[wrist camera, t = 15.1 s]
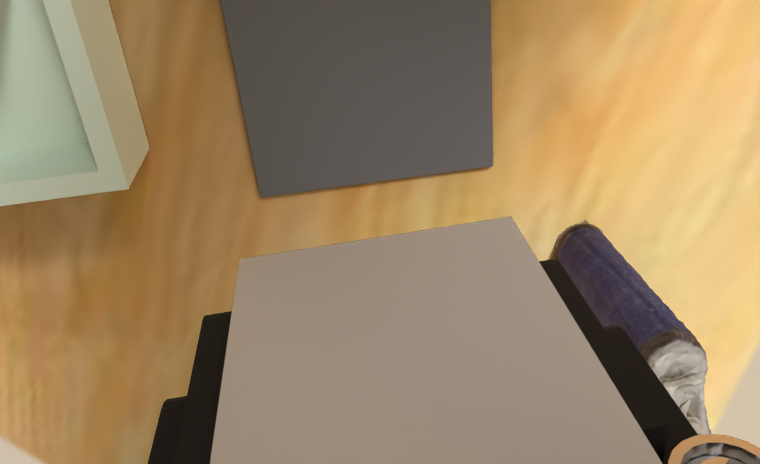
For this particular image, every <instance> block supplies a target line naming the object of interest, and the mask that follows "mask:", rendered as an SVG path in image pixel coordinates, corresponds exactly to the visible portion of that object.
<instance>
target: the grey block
mask: <svg viewBox="0 0 760 464" xmlns="http://www.w3.org/2000/svg"><path fill="white" fill-rule="evenodd" d="M210 464H662V462H661V460H660V459H659V457H658V455H657V454H656V452H655V451H654V449H653V447H652V446H651V444H650V442H649V441H648V439H647V437H646V436H645V434H644V433H643V431H642V429H641V428H640V426H639V424H638V423H637V421H636V419H635V418H634V416H633V415H632V413H631V411H630V410H629V408H628V406H627V405H626V403H625V401H624V400H623V398H622V397H621V395H620V393H619V392H618V390H617V388H616V387H615V385H614V384H613V382H612V380H611V379H610V377H609V375H608V374H607V372H606V370H605V369H604V367H603V366H602V364H601V362H600V361H599V359H598V357H597V356H596V354H595V352H594V351H593V349H592V348H591V346H590V344H589V343H588V341H587V339H586V338H585V336H584V334H583V333H582V331H581V330H580V328H579V326H578V325H577V323H576V321H575V320H574V318H573V316H572V315H571V313H570V312H569V310H568V308H567V307H566V305H565V303H564V302H563V300H562V299H561V297H560V295H559V294H558V292H557V290H556V289H555V287H554V285H553V284H552V282H551V281H550V279H549V277H548V276H547V274H546V272H545V271H544V269H543V267H542V266H541V264H540V263H539V261H538V259H537V258H536V256H535V254H534V253H533V251H532V249H531V248H530V246H529V245H528V243H527V241H526V240H525V238H524V236H523V235H522V233H521V231H520V230H519V228H518V227H517V225H516V223H515V222H514V220H513V218H512V217H511V216H510V217H504V218H498V219H491V220H485V221H479V222H472V223H466V224H460V225H453V226H447V227H441V228H434V229H428V230H422V231H415V232H409V233H403V234H396V235H390V236H384V237H377V238H371V239H365V240H358V241H352V242H346V243H339V244H333V245H327V246H320V247H314V248H308V249H301V250H295V251H289V252H282V253H276V254H270V255H263V256H257V257H251V258H244V259H239V266H238V272H237V279H236V286H235V293H234V300H233V307H232V314H231V321H230V328H229V335H228V342H227V348H226V355H225V362H224V369H223V376H222V383H221V390H220V397H219V404H218V411H217V418H216V424H215V431H214V438H213V445H212V452H211V459H210Z"/></svg>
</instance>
